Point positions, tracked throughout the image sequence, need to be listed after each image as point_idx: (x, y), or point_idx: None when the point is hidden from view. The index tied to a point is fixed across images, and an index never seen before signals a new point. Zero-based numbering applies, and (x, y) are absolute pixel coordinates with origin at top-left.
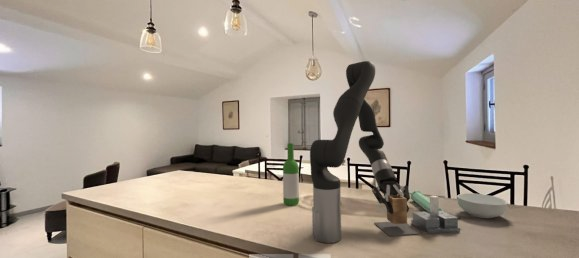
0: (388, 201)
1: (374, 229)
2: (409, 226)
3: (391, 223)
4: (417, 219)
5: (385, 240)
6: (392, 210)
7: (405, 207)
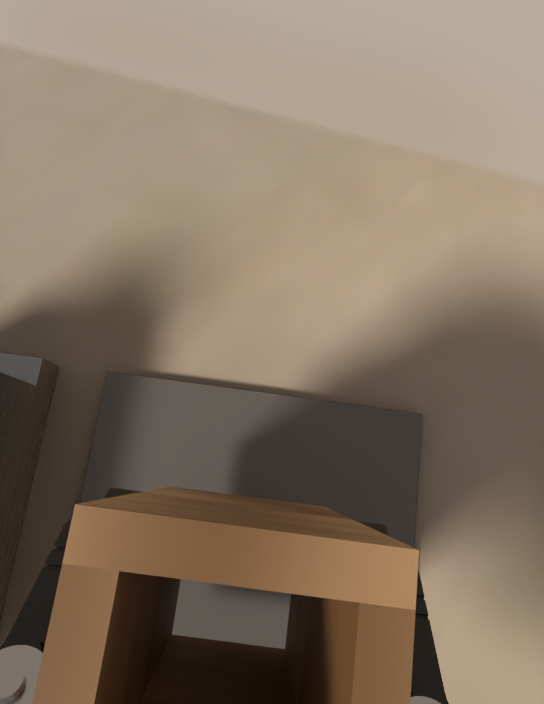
0: (416, 697)
1: (471, 604)
2: None
3: None
4: None
5: (490, 354)
6: (374, 527)
7: (151, 497)
